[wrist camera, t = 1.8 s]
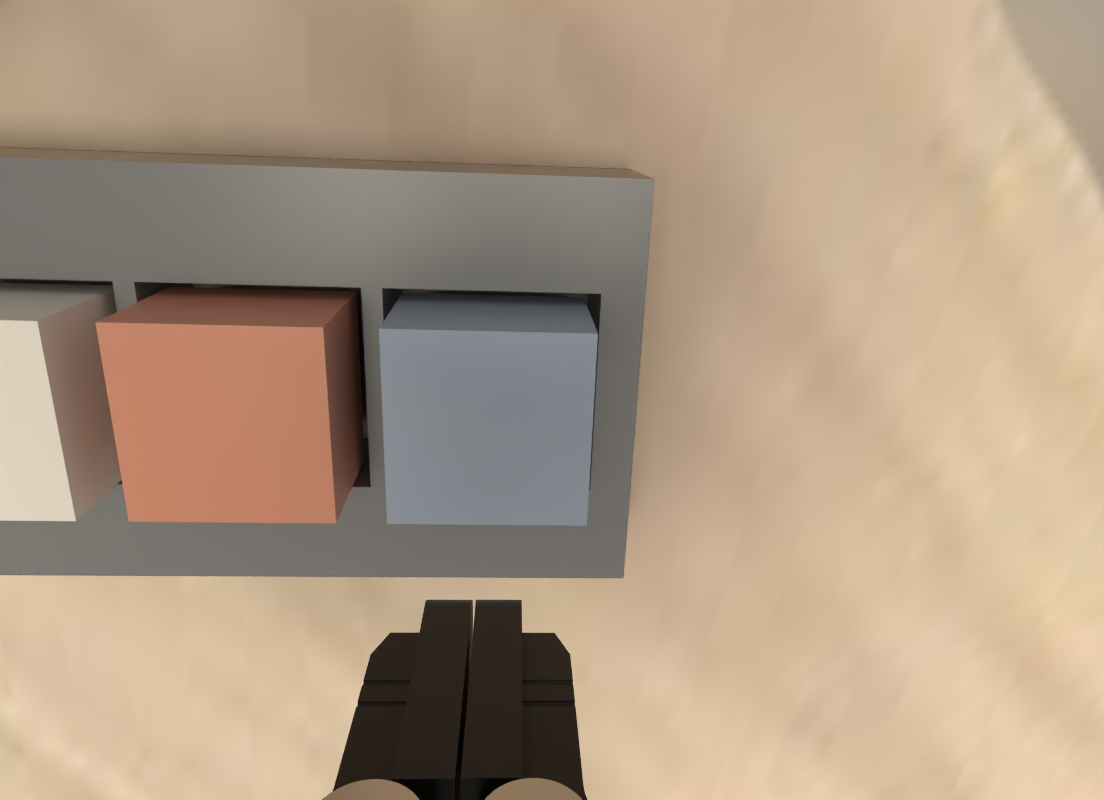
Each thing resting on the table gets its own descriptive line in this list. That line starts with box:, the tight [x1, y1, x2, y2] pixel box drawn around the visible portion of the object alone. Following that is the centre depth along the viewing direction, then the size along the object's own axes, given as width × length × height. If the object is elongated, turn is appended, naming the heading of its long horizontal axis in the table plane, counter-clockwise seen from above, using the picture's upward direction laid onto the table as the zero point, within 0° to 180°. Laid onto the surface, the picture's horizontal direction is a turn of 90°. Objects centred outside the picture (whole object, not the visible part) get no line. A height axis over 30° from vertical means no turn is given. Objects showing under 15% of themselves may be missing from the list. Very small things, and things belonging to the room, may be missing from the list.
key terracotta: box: [95, 287, 365, 523], centre depth 22 cm, size 6×6×4 cm
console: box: [0, 147, 654, 578], centre depth 26 cm, size 23×13×5 cm, turn 88°
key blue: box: [379, 293, 598, 526], centre depth 23 cm, size 6×6×4 cm
